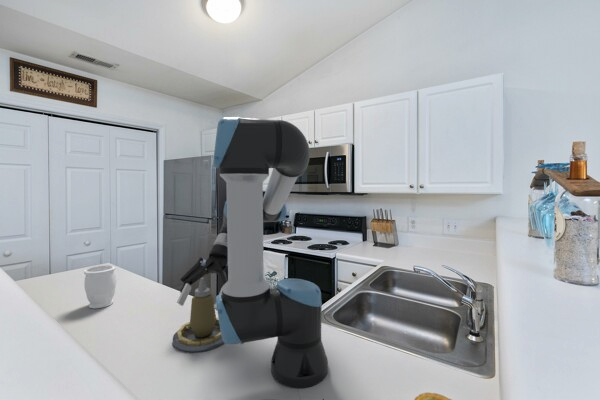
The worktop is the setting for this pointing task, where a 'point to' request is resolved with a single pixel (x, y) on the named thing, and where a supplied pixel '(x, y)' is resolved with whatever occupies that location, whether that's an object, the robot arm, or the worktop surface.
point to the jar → (100, 285)
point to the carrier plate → (197, 339)
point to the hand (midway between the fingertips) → (197, 306)
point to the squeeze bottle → (202, 311)
